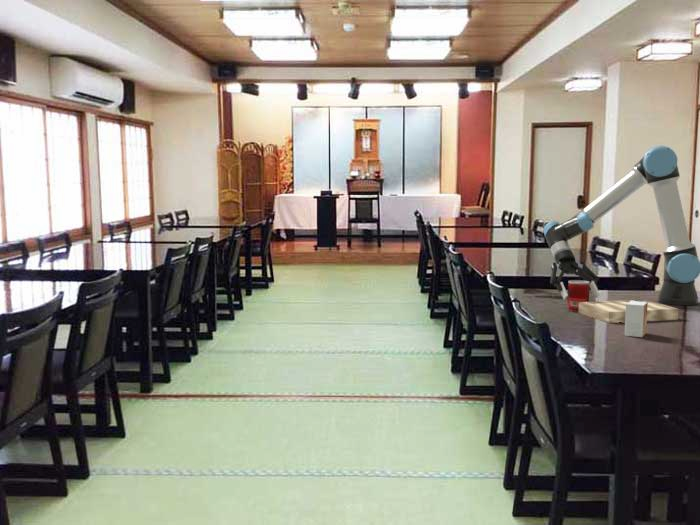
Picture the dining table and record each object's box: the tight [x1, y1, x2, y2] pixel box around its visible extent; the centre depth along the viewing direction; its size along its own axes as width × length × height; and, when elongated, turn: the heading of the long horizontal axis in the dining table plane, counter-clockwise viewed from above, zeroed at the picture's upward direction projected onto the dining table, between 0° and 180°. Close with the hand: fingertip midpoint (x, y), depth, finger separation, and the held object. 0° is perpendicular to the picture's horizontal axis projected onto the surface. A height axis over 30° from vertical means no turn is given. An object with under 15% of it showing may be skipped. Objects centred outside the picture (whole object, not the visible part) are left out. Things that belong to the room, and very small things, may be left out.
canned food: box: [567, 279, 591, 312], centre depth 267 cm, size 8×8×11 cm
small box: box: [624, 301, 648, 338], centre depth 222 cm, size 8×6×10 cm
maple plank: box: [578, 299, 680, 324], centre depth 253 cm, size 28×20×4 cm
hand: (581, 296), depth 264 cm, fingers open, 13 cm apart
